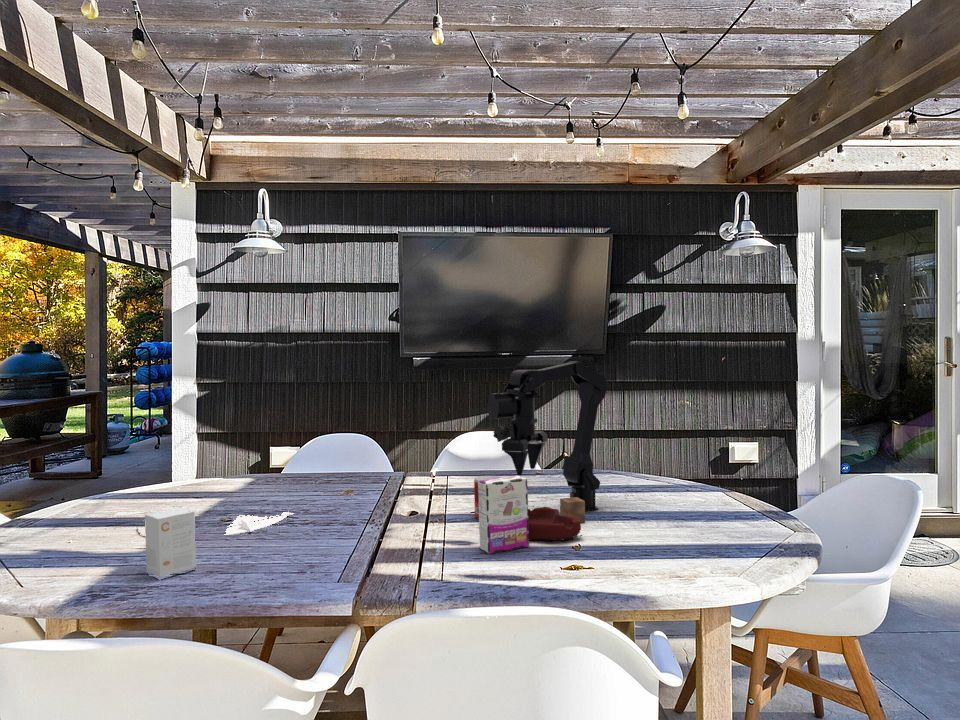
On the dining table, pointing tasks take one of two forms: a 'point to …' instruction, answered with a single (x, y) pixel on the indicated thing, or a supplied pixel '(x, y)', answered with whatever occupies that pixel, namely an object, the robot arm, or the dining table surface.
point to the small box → (170, 541)
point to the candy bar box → (503, 514)
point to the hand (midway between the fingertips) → (526, 472)
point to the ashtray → (551, 525)
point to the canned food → (477, 491)
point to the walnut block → (573, 508)
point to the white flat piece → (253, 523)
